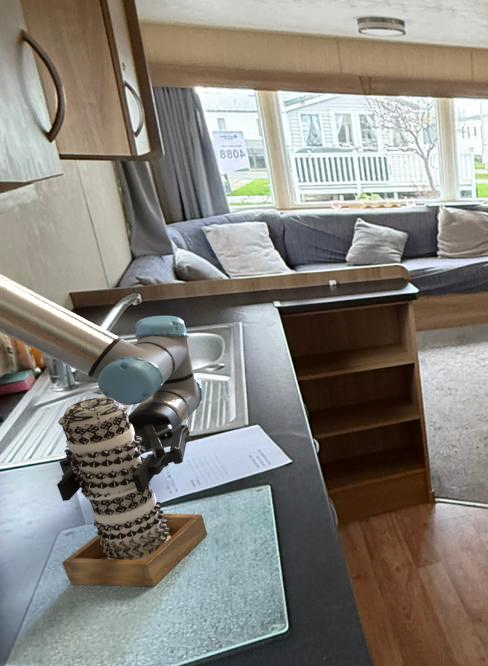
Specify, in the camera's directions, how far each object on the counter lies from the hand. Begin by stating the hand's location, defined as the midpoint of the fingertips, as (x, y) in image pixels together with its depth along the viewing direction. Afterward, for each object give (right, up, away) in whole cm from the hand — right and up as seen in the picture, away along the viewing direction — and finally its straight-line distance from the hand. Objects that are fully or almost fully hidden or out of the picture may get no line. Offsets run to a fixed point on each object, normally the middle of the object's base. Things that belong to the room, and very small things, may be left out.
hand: (100, 487), depth 92 cm
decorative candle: (-1, -11, +10) cm, 15 cm away
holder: (-1, -13, +10) cm, 16 cm away
